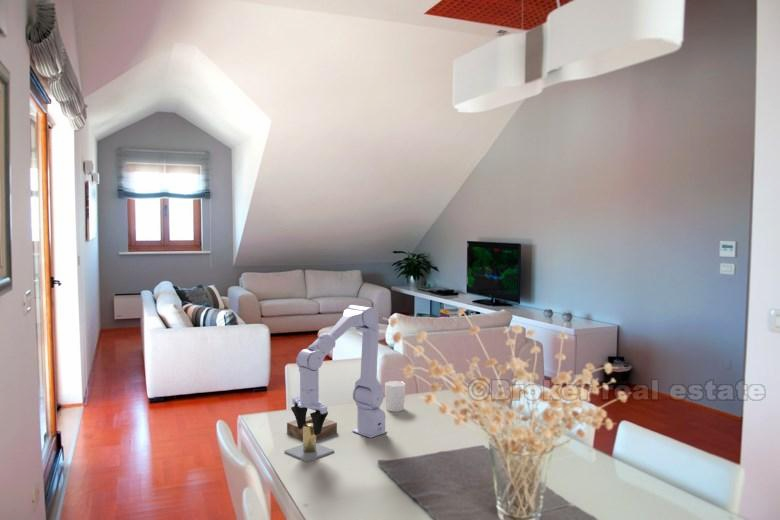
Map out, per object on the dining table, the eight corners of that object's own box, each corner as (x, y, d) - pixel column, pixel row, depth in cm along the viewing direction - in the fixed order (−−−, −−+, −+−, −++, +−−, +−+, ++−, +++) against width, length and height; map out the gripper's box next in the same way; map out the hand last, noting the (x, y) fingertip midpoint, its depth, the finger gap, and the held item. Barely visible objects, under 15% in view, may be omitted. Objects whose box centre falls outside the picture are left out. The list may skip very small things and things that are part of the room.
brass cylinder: (318, 449, 189) (318, 425, 189) (309, 453, 186) (309, 428, 186) (309, 447, 192) (309, 422, 191) (300, 450, 189) (300, 425, 188)
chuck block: (336, 432, 207) (336, 422, 207) (309, 441, 198) (309, 431, 198) (314, 424, 215) (314, 414, 215) (287, 432, 206) (287, 422, 206)
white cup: (408, 408, 234) (409, 382, 234) (398, 413, 228) (398, 387, 227) (391, 404, 239) (391, 379, 238) (380, 410, 232) (380, 384, 231)
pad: (334, 452, 189) (334, 450, 189) (307, 462, 181) (307, 460, 181) (311, 443, 197) (311, 441, 197) (284, 452, 189) (284, 450, 188)
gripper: (284, 386, 190) (284, 428, 190) (314, 395, 180) (314, 440, 181) (302, 382, 195) (302, 423, 196) (332, 390, 185) (332, 434, 186)
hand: (309, 431), depth 188 cm, fingers open, 7 cm apart
